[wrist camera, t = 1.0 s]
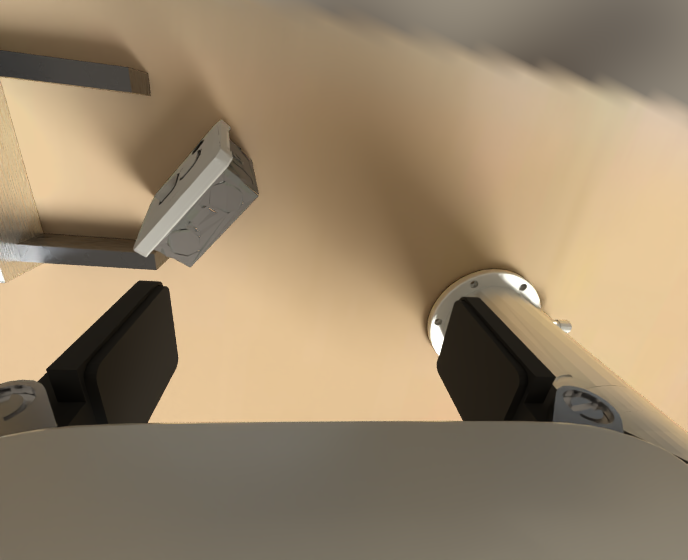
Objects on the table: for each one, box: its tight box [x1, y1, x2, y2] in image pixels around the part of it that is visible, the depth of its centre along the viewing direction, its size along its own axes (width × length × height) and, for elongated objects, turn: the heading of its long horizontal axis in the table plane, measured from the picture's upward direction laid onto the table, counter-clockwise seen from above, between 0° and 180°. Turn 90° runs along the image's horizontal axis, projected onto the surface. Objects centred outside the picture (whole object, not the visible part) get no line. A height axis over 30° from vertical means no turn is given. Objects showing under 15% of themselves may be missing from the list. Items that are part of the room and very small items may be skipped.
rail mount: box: [0, 50, 170, 283], centre depth 21 cm, size 14×19×14 cm
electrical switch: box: [133, 119, 259, 267], centre depth 25 cm, size 9×5×9 cm, turn 133°
